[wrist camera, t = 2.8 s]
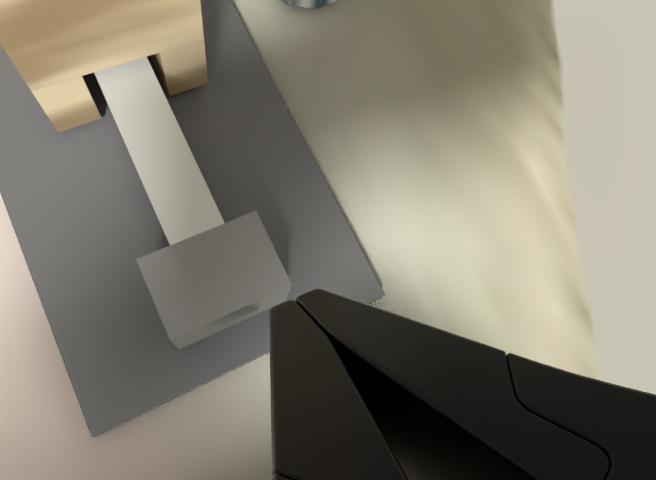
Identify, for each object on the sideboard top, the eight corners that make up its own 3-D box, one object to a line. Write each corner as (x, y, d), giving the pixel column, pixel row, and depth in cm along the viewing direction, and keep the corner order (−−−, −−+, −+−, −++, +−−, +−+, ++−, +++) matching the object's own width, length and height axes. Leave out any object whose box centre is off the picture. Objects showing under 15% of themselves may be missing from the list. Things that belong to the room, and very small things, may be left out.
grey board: (381, 297, 22) (406, 278, 19) (96, 436, 19) (66, 441, 16) (120, -204, 29) (104, -285, 25) (-130, -163, 25) (-185, -250, 22)
